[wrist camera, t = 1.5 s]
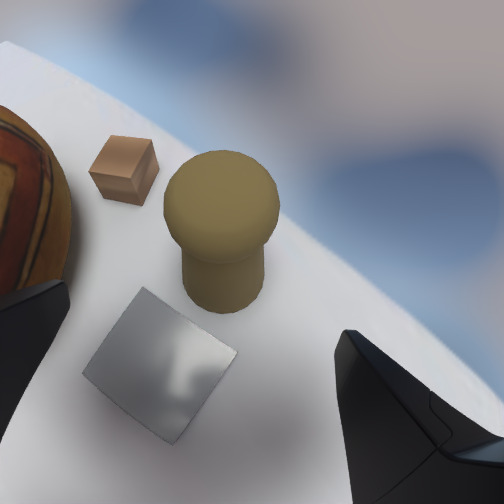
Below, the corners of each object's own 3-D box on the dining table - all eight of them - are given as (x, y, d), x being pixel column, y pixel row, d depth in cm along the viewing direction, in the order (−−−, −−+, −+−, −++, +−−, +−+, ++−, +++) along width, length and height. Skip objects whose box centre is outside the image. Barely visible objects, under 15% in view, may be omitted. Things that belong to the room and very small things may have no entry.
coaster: (174, 443, 16) (172, 445, 16) (86, 373, 18) (81, 373, 17) (237, 352, 19) (237, 352, 19) (145, 289, 21) (142, 286, 20)
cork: (186, 234, 23) (162, 129, 12) (264, 238, 23) (291, 135, 13) (178, 311, 20) (133, 248, 10) (264, 315, 21) (300, 256, 11)
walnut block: (142, 206, 23) (130, 177, 20) (104, 198, 23) (88, 171, 20) (159, 170, 25) (151, 139, 21) (122, 164, 25) (110, 135, 21)
